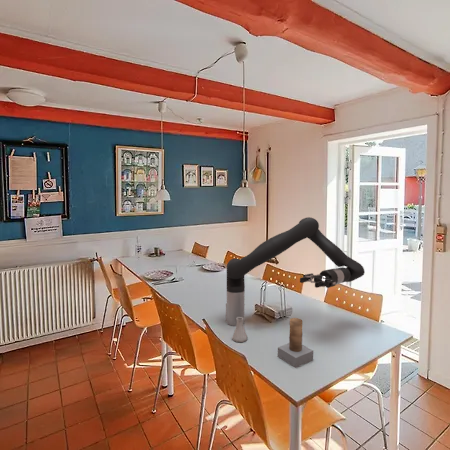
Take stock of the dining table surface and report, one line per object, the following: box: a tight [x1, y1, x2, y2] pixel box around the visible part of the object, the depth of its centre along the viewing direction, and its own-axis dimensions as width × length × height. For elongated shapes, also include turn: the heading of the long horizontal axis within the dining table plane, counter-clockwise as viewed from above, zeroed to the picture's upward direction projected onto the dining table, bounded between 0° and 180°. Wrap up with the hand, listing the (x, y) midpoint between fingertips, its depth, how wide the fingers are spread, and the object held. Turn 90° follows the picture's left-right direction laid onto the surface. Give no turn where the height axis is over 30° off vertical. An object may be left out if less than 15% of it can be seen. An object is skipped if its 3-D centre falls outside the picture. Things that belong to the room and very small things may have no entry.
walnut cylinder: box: [288, 317, 303, 352], centre depth 127 cm, size 5×5×12 cm
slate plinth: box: [277, 342, 314, 369], centre depth 127 cm, size 10×10×4 cm
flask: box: [231, 317, 249, 343], centre depth 144 cm, size 7×7×10 cm
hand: (307, 282), depth 137 cm, fingers open, 8 cm apart
